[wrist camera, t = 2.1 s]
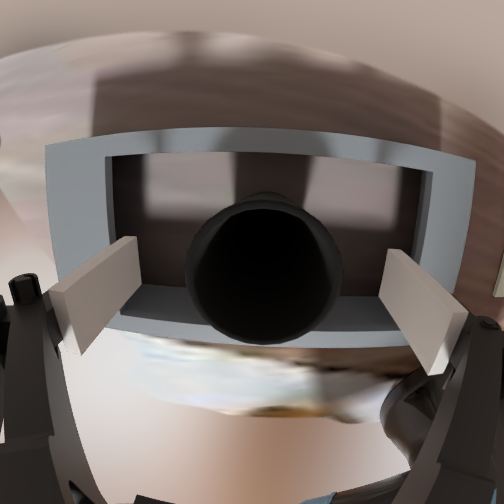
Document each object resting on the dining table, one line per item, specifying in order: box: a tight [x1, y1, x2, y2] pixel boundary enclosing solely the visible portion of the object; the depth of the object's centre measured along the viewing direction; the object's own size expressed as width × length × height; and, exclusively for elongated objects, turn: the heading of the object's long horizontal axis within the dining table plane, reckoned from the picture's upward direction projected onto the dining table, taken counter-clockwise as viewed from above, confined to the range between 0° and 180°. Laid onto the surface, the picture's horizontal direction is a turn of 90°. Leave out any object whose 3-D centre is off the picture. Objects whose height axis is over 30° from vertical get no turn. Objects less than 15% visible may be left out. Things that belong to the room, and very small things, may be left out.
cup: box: [185, 192, 343, 345], centre depth 20 cm, size 8×8×12 cm
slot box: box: [45, 127, 476, 348], centre depth 22 cm, size 15×32×7 cm, turn 88°
